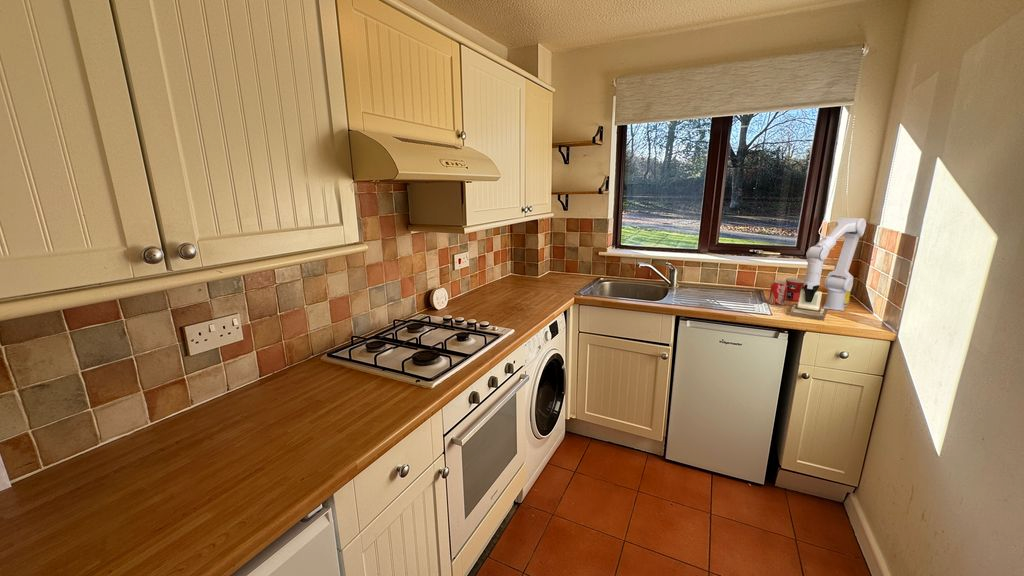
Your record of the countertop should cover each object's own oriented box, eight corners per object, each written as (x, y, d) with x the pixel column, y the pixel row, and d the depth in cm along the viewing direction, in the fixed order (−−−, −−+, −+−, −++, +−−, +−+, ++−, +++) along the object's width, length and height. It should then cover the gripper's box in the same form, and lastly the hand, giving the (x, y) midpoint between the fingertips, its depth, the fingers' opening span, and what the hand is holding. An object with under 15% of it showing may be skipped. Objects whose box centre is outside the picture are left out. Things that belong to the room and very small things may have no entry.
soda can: (771, 306, 209) (774, 283, 206) (766, 302, 215) (769, 279, 212) (787, 306, 207) (790, 283, 204) (781, 303, 214) (785, 280, 211)
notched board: (793, 305, 209) (793, 300, 209) (827, 310, 200) (828, 305, 200) (786, 314, 194) (787, 309, 194) (823, 320, 186) (824, 315, 185)
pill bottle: (848, 307, 206) (852, 284, 203) (832, 304, 210) (836, 282, 207) (848, 304, 211) (852, 281, 208) (832, 302, 215) (836, 280, 212)
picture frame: (799, 304, 200) (801, 288, 198) (819, 307, 194) (822, 291, 193) (797, 307, 196) (800, 290, 194) (818, 310, 191) (821, 293, 189)
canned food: (779, 298, 223) (782, 278, 221) (795, 298, 223) (798, 278, 220) (788, 301, 216) (791, 281, 213) (804, 301, 215) (807, 281, 213)
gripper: (805, 269, 199) (800, 296, 202) (801, 274, 188) (796, 302, 192) (823, 271, 195) (818, 298, 198) (820, 276, 184) (815, 305, 187)
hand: (808, 301), depth 194 cm, fingers closed on picture frame, 3 cm apart
